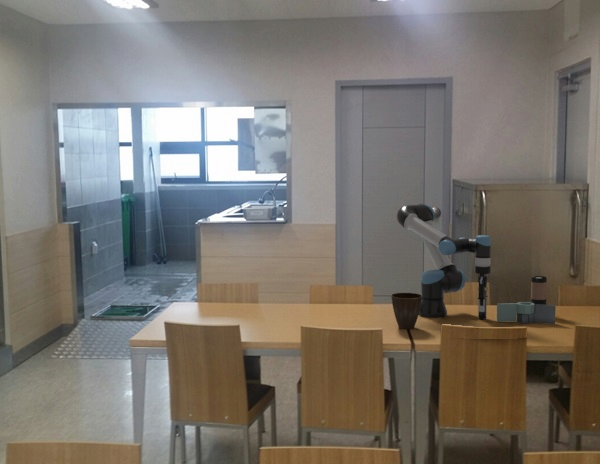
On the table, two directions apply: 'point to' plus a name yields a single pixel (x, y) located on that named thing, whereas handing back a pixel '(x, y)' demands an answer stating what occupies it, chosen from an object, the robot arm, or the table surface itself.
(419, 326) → the table surface
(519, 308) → the hinge leaf swing
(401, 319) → the plant pot
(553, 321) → the hinge leaf fixed
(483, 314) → the hinge pin
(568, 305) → the table surface
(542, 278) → the travel mug
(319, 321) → the table surface
